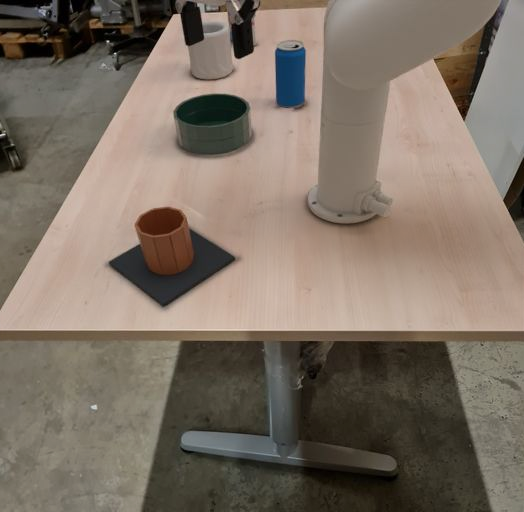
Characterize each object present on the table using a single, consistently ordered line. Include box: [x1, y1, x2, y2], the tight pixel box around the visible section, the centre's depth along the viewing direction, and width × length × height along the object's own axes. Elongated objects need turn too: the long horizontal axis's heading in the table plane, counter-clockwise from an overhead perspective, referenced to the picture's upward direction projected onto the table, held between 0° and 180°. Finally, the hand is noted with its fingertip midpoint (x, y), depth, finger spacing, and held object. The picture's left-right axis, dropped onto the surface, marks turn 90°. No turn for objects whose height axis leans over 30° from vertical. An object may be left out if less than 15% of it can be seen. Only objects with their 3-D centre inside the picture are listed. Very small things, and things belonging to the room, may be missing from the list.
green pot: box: [172, 93, 253, 156], centre depth 98 cm, size 15×15×6 cm
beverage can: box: [274, 39, 307, 109], centre depth 104 cm, size 6×6×12 cm
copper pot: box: [134, 206, 194, 275], centre depth 71 cm, size 7×8×7 cm
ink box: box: [226, 1, 257, 47], centre depth 132 cm, size 9×5×12 cm, turn 25°
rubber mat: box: [108, 227, 236, 308], centre depth 74 cm, size 14×14×1 cm
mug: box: [187, 20, 234, 80], centre depth 120 cm, size 14×11×10 cm
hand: (218, 49), depth 66 cm, fingers open, 9 cm apart
